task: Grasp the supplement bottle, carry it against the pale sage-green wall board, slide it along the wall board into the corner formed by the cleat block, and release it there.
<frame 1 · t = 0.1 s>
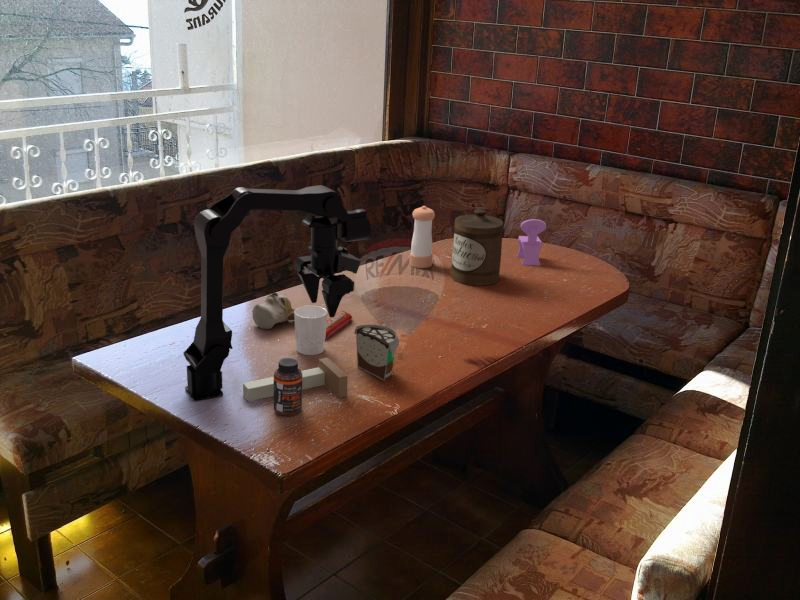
hand: (322, 309, 190), 15 cm above the table, fingers open, 9 cm apart
supplement bottle: (287, 411, 176), on the table
toy chair: (528, 261, 275), on the table
ceramic sculpture: (275, 323, 218), on the table
food container: (380, 370, 195), on the table
candy bar: (333, 330, 216), on the table
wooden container: (474, 278, 258), on the table
pepper shaker: (420, 264, 267), on the table
wall board: (288, 389, 184), on the table
white cup: (310, 350, 204), on the table
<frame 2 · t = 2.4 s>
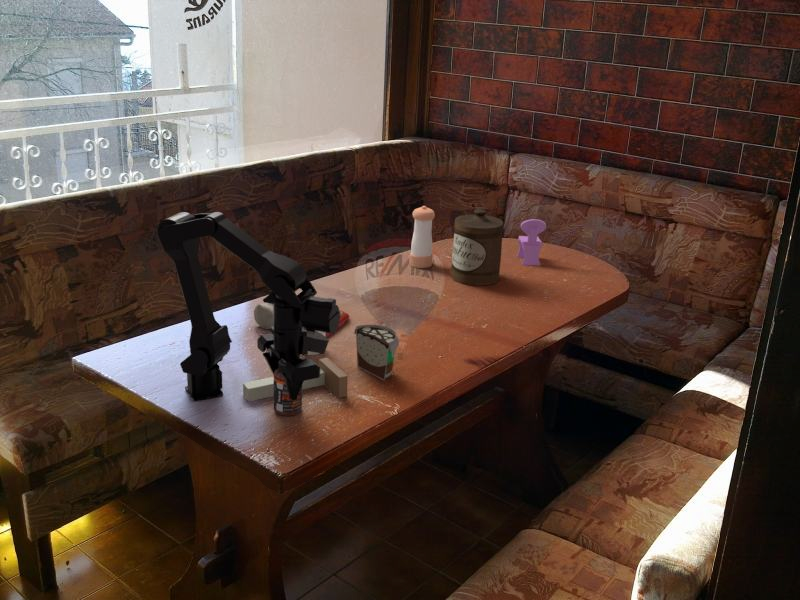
hand: (287, 393, 174), 4 cm above the table, fingers closed on supplement bottle, 6 cm apart
supplement bottle: (287, 410, 176), on the table, touching gripper
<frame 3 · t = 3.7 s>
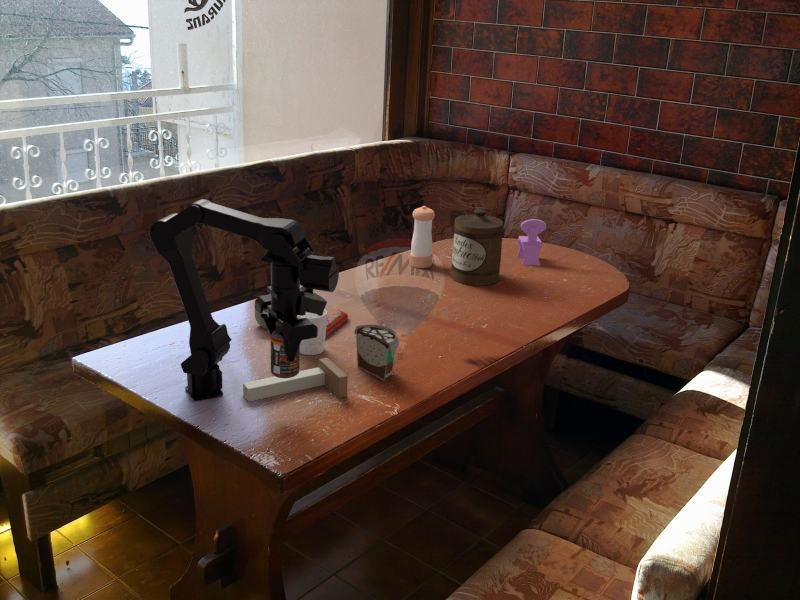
hand: (284, 354, 172), 12 cm above the table, fingers closed on supplement bottle, 6 cm apart
supplement bottle: (285, 374, 174), point 8 cm above the table, touching gripper
everything else where it was.
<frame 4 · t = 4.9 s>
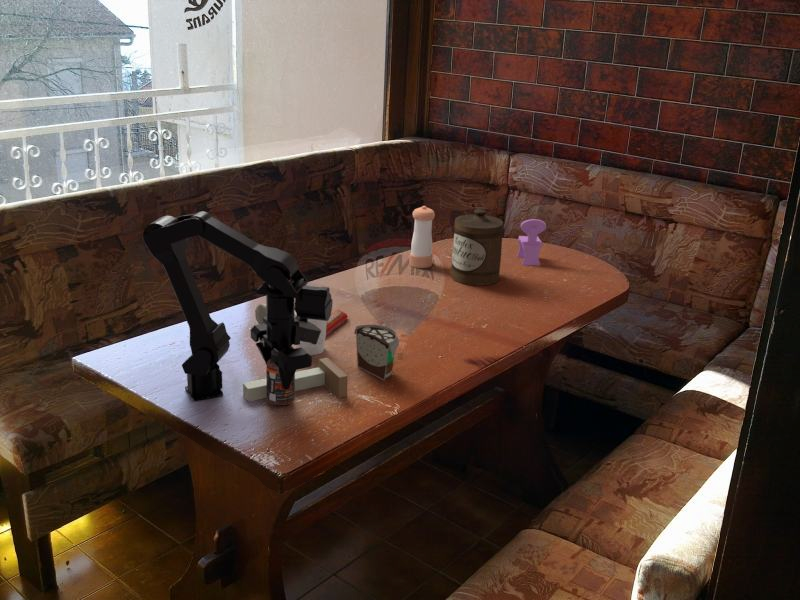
hand: (280, 382, 177), 5 cm above the table, fingers closed on supplement bottle, 6 cm apart
supplement bottle: (280, 401, 178), on the table, touching gripper
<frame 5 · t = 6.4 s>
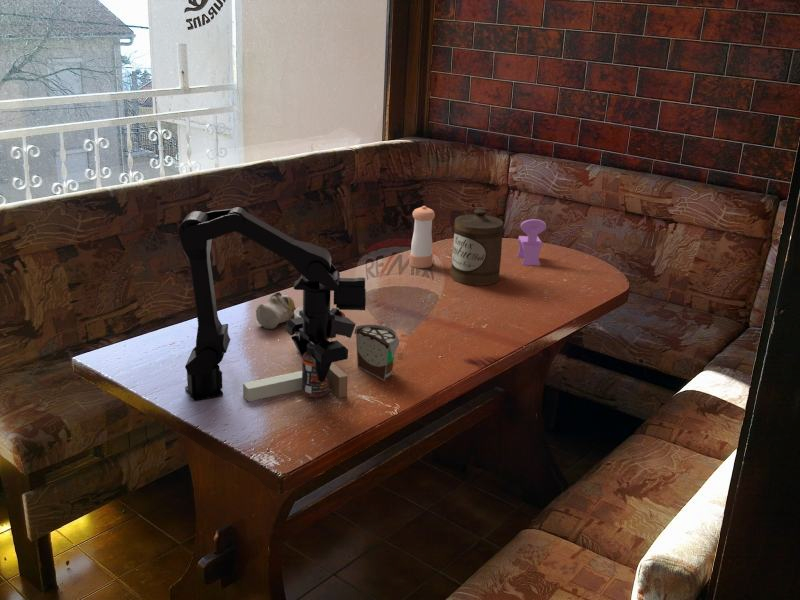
hand: (315, 375, 181), 5 cm above the table, fingers closed on supplement bottle, 6 cm apart
supplement bottle: (315, 393, 182), on the table, touching gripper
when the fingers open (5 cm above the table, at t = 7.7 s): supplement bottle stays where it is, on the table.
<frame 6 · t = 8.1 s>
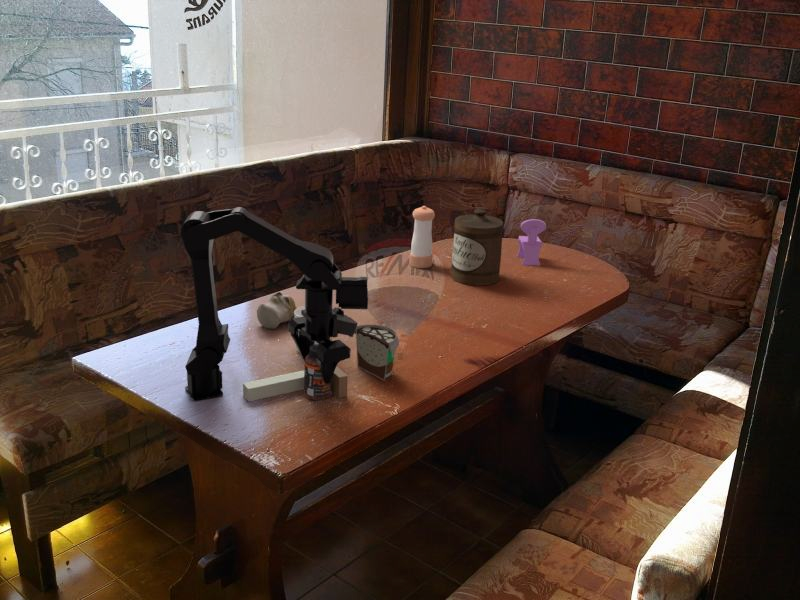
hand: (317, 374, 181), 5 cm above the table, fingers open, 9 cm apart
supplement bottle: (317, 395, 183), on the table
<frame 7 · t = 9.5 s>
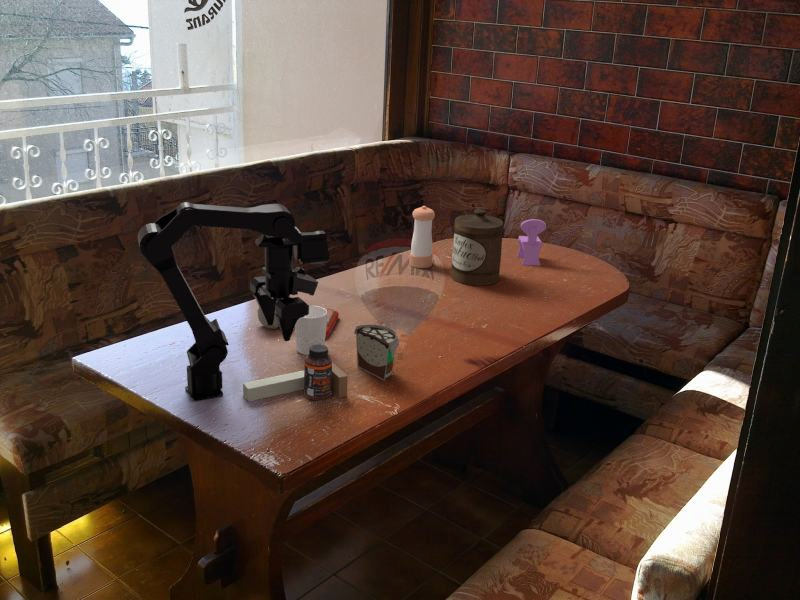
hand: (278, 332, 182), 12 cm above the table, fingers open, 9 cm apart
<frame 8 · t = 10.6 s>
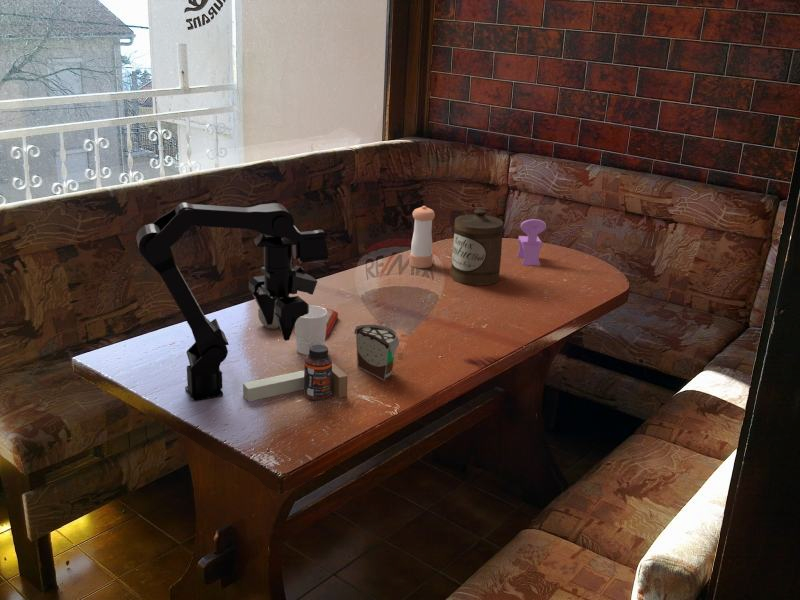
hand: (278, 332, 182), 13 cm above the table, fingers open, 9 cm apart
at the end: supplement bottle 0.2 cm from the target spot on the wall board, point 0.0 cm above the wall board's base; supplement bottle tilted 0°; the gripper is holding nothing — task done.
